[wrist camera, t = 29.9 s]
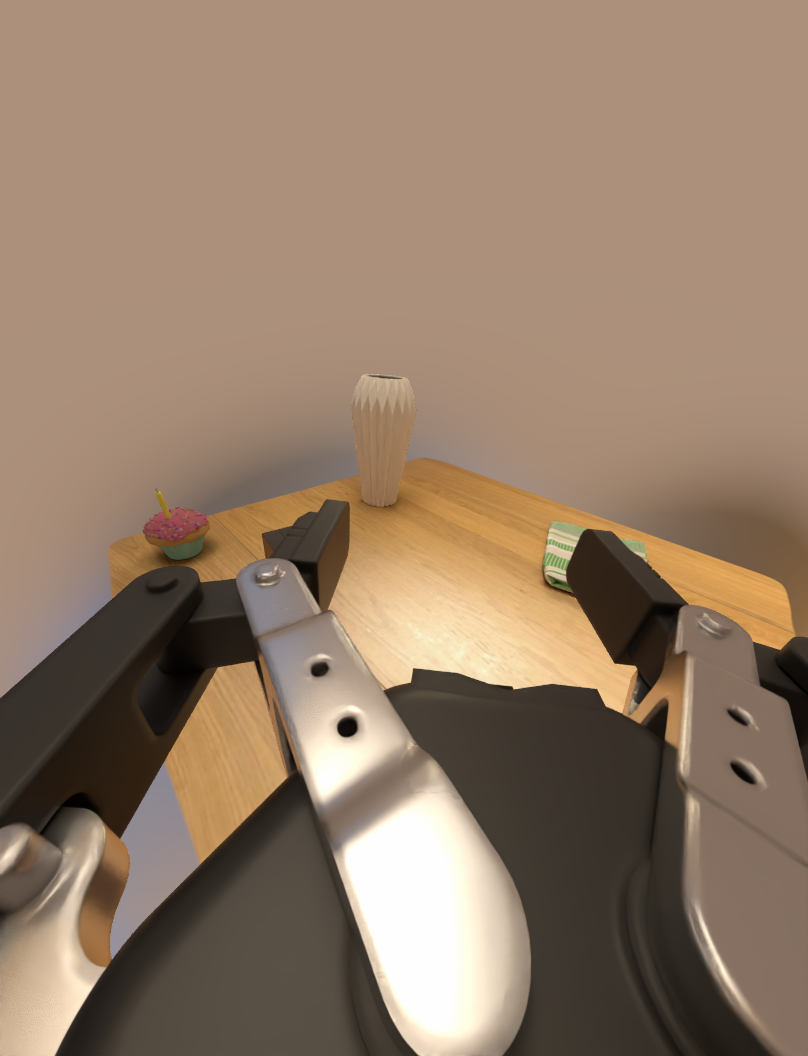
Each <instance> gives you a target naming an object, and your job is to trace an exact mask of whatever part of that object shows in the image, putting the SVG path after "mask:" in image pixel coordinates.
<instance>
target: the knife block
mask: <svg viewBox="0 0 808 1056" xmlns="http://www.w3.org/2000/svg"><path fill="white" fill-rule="evenodd" d="M290 529H292V526H290V527H286V528H282V529H278V530H274V531H270V532H266V533H262V538H263V545H264V551H265V557H266V559H269V557H270V556H271V554H272V553H273V552H274V550H275V549H276V548H277V546H278V545H279V544H280V542H281V541H282V539H283V538H284V537H285V536H286V535H287V533H288V531H289V530H290Z"/></svg>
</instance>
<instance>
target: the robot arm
mask: <svg viewBox="0 0 808 1056" xmlns="http://www.w3.org/2000/svg"><path fill="white" fill-rule="evenodd" d="M349 528H350V506H349V502H346V501H337V500H328V499H327V500H326V501H325V502H324V504H323V505H322V507H321V508H320V510H319V512H318V513H317V512H308V513H306V514H305V515H303V516H301V517H299V518H298V519H297V520H296V522H295V523H294V524H293V526H292V529H290V530H289V531H288V533H287V535H286V536H285V537H284V538H283V539H282V541H281V542H280V544H279V545H278V546H277V548H276V549H275V550H274V552H273V553H272V554H271V556H270V557H269V559H263V560H259V561H255V562H253V563H251V564H249V565H247V566H246V567H244V568H243V569H242V570H241V571H240V572H239V573H238V575H237V577H236V579H230V580H221V581H211V582H200V579H199V575H198V573H197V572H196V571H195V570H194V569H192V568H190V567H186V566H169V567H163V568H159V569H155V570H152V571H150V572H147V573H145V574H143V575H141V576H139V577H138V578H136V579H135V580H133V581H132V582H131V583H130V584H129V585H127V586H126V587H125V588H124V589H123V590H122V591H121V592H120V593H118V594H117V595H116V596H115V597H114V598H113V599H112V600H111V601H109V602H108V603H107V604H106V605H105V606H104V607H103V608H102V609H101V610H99V611H98V612H97V613H96V614H95V615H94V616H93V617H91V618H90V619H89V620H88V621H87V622H86V623H85V624H84V625H82V626H81V627H80V628H79V629H78V630H77V631H76V632H75V633H74V634H72V635H71V636H70V637H69V638H68V639H67V640H65V641H64V642H63V643H62V644H61V645H60V646H59V647H58V648H56V649H55V650H54V651H53V652H52V653H51V654H50V655H49V656H48V657H46V658H45V659H44V660H43V661H42V662H41V663H40V664H38V665H37V666H36V667H35V668H34V669H33V670H32V671H31V672H29V673H28V674H27V675H26V676H25V677H24V678H23V679H22V680H20V681H19V682H18V683H17V684H16V685H15V686H14V687H13V688H11V689H10V690H9V691H8V692H7V693H6V694H5V695H3V696H2V697H1V698H0V1056H808V638H806V637H794V638H792V639H791V640H790V641H789V642H788V643H787V644H786V645H785V646H784V647H783V648H782V649H781V650H778V649H775V648H772V647H768V646H765V645H762V644H759V643H755V642H753V641H752V638H751V637H750V635H749V634H748V633H747V632H746V631H745V630H744V629H743V628H742V627H741V626H740V625H738V624H737V623H736V622H734V621H733V620H731V619H729V618H728V617H726V616H724V615H722V614H720V613H718V612H716V611H713V610H711V609H708V608H705V607H701V606H696V605H689V604H688V603H687V602H686V601H685V600H684V599H683V598H682V597H681V596H680V595H679V594H678V593H677V592H676V591H675V590H674V589H673V588H672V587H671V586H670V585H669V584H668V583H667V582H666V581H665V580H664V579H661V578H660V577H661V576H660V575H659V574H658V573H657V572H656V571H655V570H652V567H651V566H650V565H649V564H648V563H647V562H646V561H645V560H644V559H643V558H642V557H640V556H639V555H637V554H635V553H634V552H632V551H631V550H630V549H629V548H628V547H627V546H626V545H625V544H624V543H623V542H622V541H621V540H620V539H619V538H618V537H617V536H616V535H615V534H614V533H613V532H611V531H602V530H593V529H586V530H584V531H583V532H582V534H581V536H580V538H579V540H578V543H577V545H576V547H575V549H574V552H573V554H572V556H571V559H570V561H569V563H568V566H567V569H566V580H567V583H568V585H569V587H570V588H571V590H572V592H573V594H574V595H575V597H576V599H577V600H578V602H579V604H580V606H581V607H582V609H583V611H584V612H585V614H586V616H587V617H588V619H589V621H590V623H591V624H592V626H593V628H594V629H595V631H596V633H597V634H598V636H599V638H600V640H601V641H602V643H603V645H604V646H605V648H606V650H607V652H608V653H609V655H610V657H611V658H612V660H613V662H614V663H615V664H624V665H633V666H636V667H637V670H636V672H635V673H634V674H633V676H632V678H631V681H630V685H629V689H628V693H627V697H626V701H625V705H624V709H623V713H619V712H617V711H615V710H613V709H610V708H608V707H606V706H605V704H604V702H603V700H602V698H601V696H600V694H599V692H598V690H597V689H591V688H582V687H574V686H565V685H556V684H549V685H542V686H535V687H528V688H521V689H514V690H506V689H502V688H499V687H496V686H493V685H491V684H488V683H485V682H482V681H479V680H476V679H473V678H470V677H467V676H464V675H462V674H459V673H451V672H442V671H433V670H424V669H415V668H413V673H412V679H411V683H407V684H402V685H398V686H394V687H391V688H389V689H386V690H384V691H383V690H382V688H381V686H380V685H379V683H378V682H377V680H376V678H375V677H374V675H373V674H372V672H371V670H370V669H369V667H368V666H367V664H366V662H365V661H364V659H363V658H362V656H361V654H360V653H359V651H358V650H357V648H356V646H355V645H354V643H353V642H352V640H351V638H350V637H349V635H348V634H347V632H346V630H345V629H344V627H343V626H342V624H341V622H340V621H339V619H338V618H337V616H336V615H335V613H334V612H333V611H331V610H328V607H329V605H330V602H331V599H332V597H333V594H334V591H335V588H336V586H337V583H338V580H339V578H340V575H341V572H342V570H343V567H344V564H345V561H346V559H347V555H348V550H349ZM327 610H328V611H327ZM251 661H253V662H254V665H255V668H256V671H257V675H258V678H259V681H260V685H261V688H262V691H263V694H264V698H265V701H266V704H267V708H268V711H269V714H270V717H271V721H272V724H273V728H274V732H275V736H276V740H277V744H278V747H279V751H280V754H281V758H282V761H283V765H284V768H285V771H286V775H287V779H286V780H285V781H284V782H283V783H282V784H281V785H280V786H279V787H278V788H277V789H276V790H275V791H274V792H273V793H272V794H271V795H270V796H269V797H268V798H267V799H266V800H265V801H264V802H263V803H262V804H261V805H260V806H259V807H258V808H257V809H256V810H255V811H254V812H253V813H252V814H251V815H250V816H249V817H248V818H247V819H246V820H245V821H244V822H243V823H242V824H241V825H240V826H239V827H238V828H237V829H236V830H235V831H234V832H233V833H232V834H231V835H230V836H229V837H228V838H227V839H226V840H225V841H223V842H222V843H221V844H220V845H219V846H218V847H217V848H216V849H215V850H214V851H213V852H212V853H211V854H210V855H209V856H208V857H207V858H206V859H205V860H204V861H203V862H202V863H201V864H200V865H199V866H198V867H197V868H196V869H195V870H194V871H193V873H192V874H190V875H189V876H188V877H187V878H186V879H185V880H184V881H183V882H182V883H181V884H180V885H179V886H178V887H177V888H176V889H175V890H174V892H172V893H171V894H170V895H169V896H168V898H166V899H165V900H164V901H163V902H162V903H161V904H160V905H159V906H158V907H157V908H156V909H155V910H154V911H153V912H152V913H151V914H150V915H149V916H148V917H147V918H146V919H145V921H144V922H143V923H142V924H141V925H140V926H139V927H138V928H137V929H136V931H135V932H134V933H133V934H132V935H131V937H130V938H129V939H128V940H127V941H126V942H125V944H124V945H123V946H122V947H121V949H120V950H119V951H118V953H117V954H116V955H115V957H114V958H113V959H111V953H110V933H111V926H112V922H113V918H114V915H115V911H116V909H117V906H118V904H119V901H120V899H121V896H122V894H123V891H124V889H125V886H126V883H127V879H128V875H129V868H130V857H129V854H128V850H127V848H126V846H125V844H124V843H123V842H122V841H121V840H120V838H121V836H122V835H123V833H124V831H125V829H126V828H127V826H128V824H129V822H130V821H131V819H132V817H133V815H134V814H135V812H136V810H137V808H138V807H139V805H140V803H141V801H142V799H143V798H144V796H145V794H146V792H147V791H148V789H149V787H150V785H151V784H152V782H153V780H154V778H155V777H156V775H157V773H158V771H159V770H160V768H161V766H162V764H163V763H164V761H165V759H166V757H167V756H168V754H169V752H170V750H171V749H172V747H173V745H174V743H175V742H176V740H177V738H178V736H179V734H180V733H181V731H182V729H183V727H184V726H185V724H186V722H187V720H188V719H189V717H190V715H191V713H192V712H193V710H194V708H195V706H196V705H197V703H198V701H199V699H200V698H201V696H202V694H203V692H204V691H205V689H206V687H207V685H208V684H209V682H210V680H211V678H212V677H213V675H214V673H215V671H216V669H217V668H218V667H222V666H228V665H233V664H239V663H245V662H251Z"/></svg>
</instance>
